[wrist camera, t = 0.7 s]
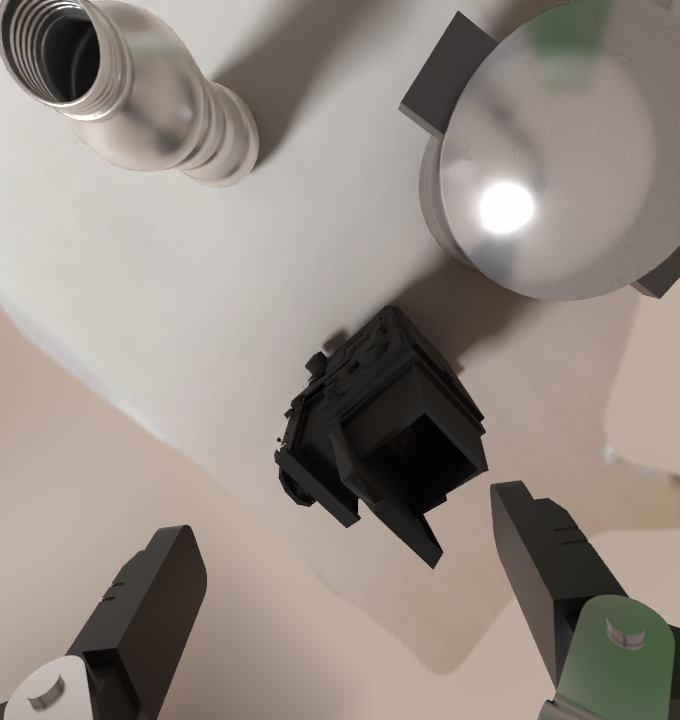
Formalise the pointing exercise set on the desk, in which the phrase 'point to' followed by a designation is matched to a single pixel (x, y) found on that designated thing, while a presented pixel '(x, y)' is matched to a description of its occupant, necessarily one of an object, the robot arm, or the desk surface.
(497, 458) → the desk surface
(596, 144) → the pot
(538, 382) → the desk surface
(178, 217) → the desk surface
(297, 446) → the camera
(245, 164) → the plastic bottle
